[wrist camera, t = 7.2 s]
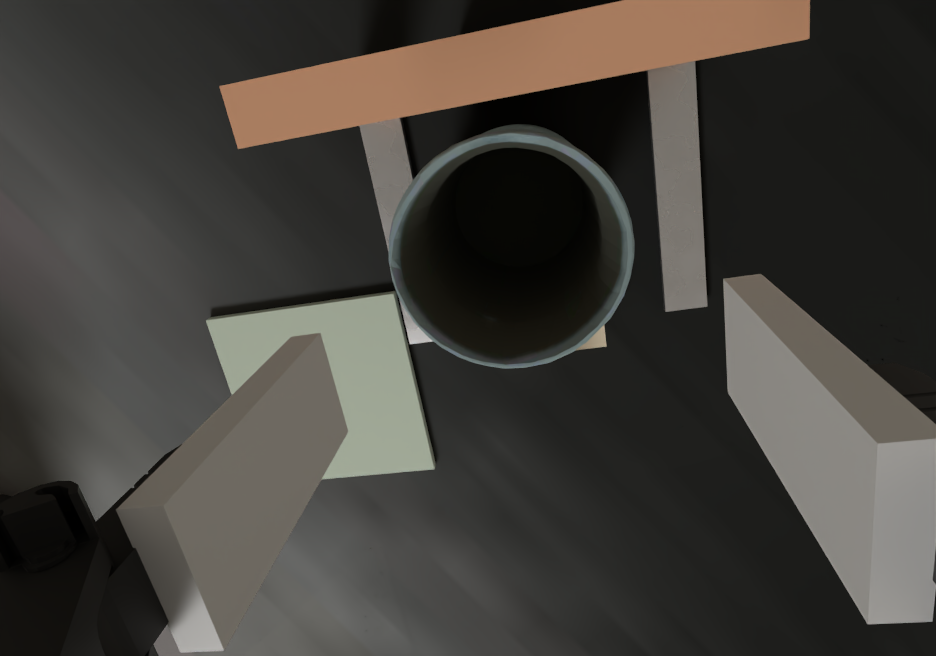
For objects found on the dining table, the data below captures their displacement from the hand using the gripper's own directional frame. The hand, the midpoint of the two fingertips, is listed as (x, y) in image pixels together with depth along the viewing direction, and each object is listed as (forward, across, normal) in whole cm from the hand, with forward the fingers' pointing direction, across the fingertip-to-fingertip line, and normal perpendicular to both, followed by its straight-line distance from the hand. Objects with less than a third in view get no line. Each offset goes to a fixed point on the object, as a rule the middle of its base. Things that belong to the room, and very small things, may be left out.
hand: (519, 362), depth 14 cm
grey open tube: (+24, -1, 0) cm, 24 cm away
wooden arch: (+24, 0, +7) cm, 24 cm away
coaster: (+24, -16, -11) cm, 30 cm away
